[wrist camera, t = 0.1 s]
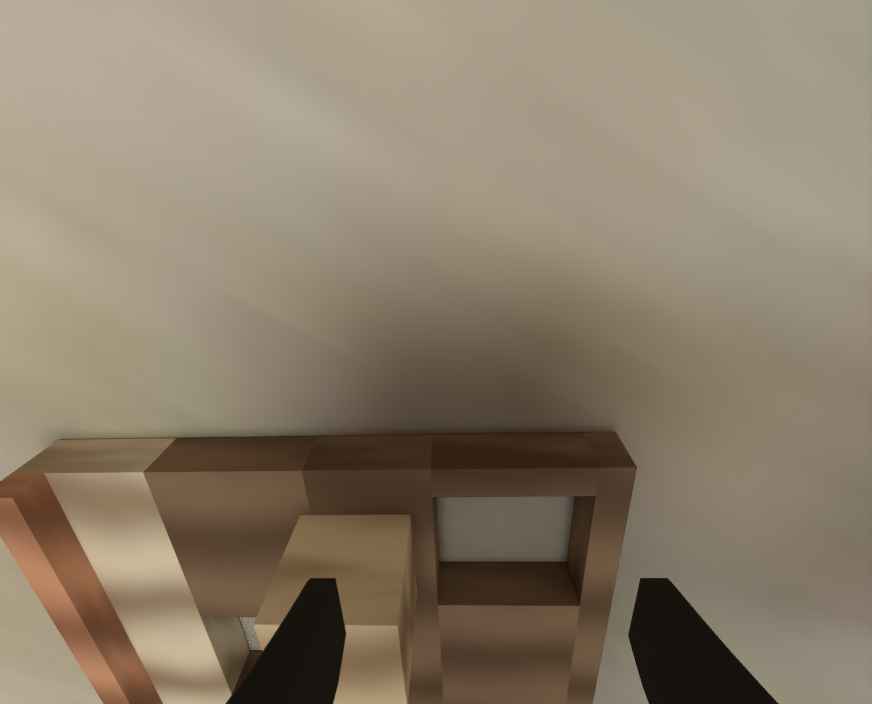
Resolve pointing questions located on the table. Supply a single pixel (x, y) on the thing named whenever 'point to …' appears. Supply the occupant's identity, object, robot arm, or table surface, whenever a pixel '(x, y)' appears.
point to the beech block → (355, 597)
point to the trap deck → (268, 538)
